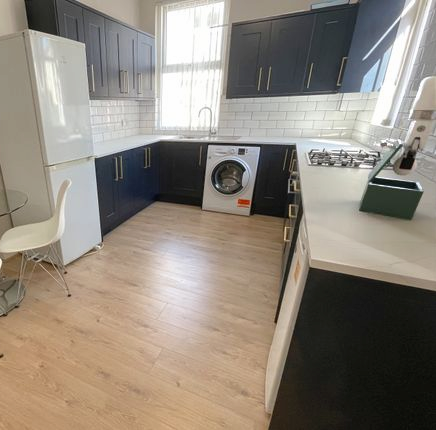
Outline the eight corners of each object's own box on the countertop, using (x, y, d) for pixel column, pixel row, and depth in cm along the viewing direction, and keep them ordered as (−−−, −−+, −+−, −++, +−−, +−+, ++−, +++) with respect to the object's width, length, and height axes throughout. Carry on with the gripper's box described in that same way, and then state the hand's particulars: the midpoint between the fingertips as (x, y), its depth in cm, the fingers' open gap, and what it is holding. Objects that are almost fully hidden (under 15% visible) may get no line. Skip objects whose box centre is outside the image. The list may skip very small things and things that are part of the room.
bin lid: (400, 140, 107) (384, 135, 109) (403, 144, 96) (386, 138, 98) (370, 175, 115) (356, 169, 118) (370, 183, 104) (354, 176, 107)
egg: (386, 174, 106) (393, 153, 103) (396, 172, 107) (403, 152, 105) (405, 177, 100) (414, 156, 97) (416, 176, 102) (424, 155, 99)
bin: (407, 208, 111) (418, 182, 107) (411, 220, 100) (423, 191, 96) (360, 200, 120) (369, 176, 116) (358, 210, 109) (368, 183, 105)
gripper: (444, 117, 88) (421, 173, 94) (436, 115, 100) (415, 165, 107) (411, 116, 92) (391, 170, 99) (407, 115, 104) (389, 162, 111)
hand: (404, 167), depth 103 cm, fingers closed on egg, 6 cm apart
